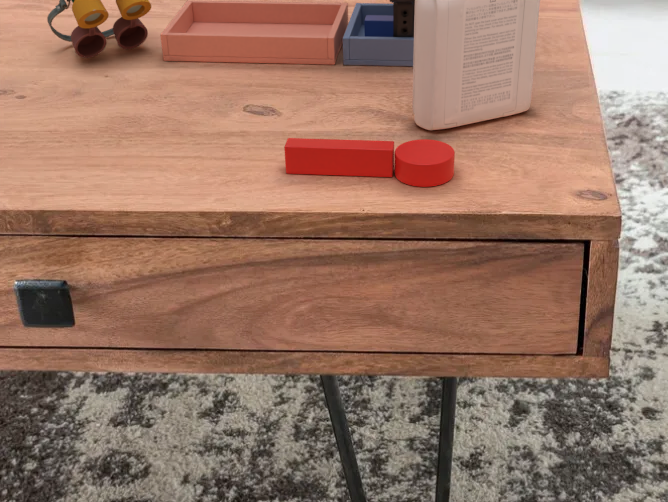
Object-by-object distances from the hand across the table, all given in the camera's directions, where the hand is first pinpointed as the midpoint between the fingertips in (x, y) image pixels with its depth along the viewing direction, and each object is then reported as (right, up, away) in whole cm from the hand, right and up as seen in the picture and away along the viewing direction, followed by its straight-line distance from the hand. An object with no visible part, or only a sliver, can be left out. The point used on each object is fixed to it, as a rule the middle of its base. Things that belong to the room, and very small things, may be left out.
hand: (408, 29), depth 99 cm
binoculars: (-29, -2, +2) cm, 29 cm away
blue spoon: (+2, -1, +1) cm, 3 cm away
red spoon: (-4, -17, -20) cm, 27 cm away
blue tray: (+3, -1, +1) cm, 3 cm away
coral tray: (-14, -1, +3) cm, 15 cm away
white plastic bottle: (+5, -11, -12) cm, 17 cm away
